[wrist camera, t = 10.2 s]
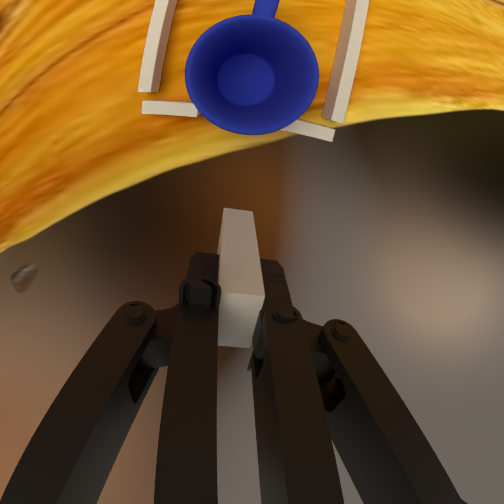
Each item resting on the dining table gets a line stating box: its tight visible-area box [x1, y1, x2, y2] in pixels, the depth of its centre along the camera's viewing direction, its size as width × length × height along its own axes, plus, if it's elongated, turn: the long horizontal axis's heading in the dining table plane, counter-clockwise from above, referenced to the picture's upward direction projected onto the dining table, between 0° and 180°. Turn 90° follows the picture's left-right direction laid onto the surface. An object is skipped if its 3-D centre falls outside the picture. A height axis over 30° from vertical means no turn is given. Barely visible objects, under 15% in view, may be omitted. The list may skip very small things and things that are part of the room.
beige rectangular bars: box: [138, 0, 369, 142], centre depth 18 cm, size 18×21×4 cm
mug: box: [185, 0, 319, 135], centre depth 17 cm, size 8×12×10 cm
